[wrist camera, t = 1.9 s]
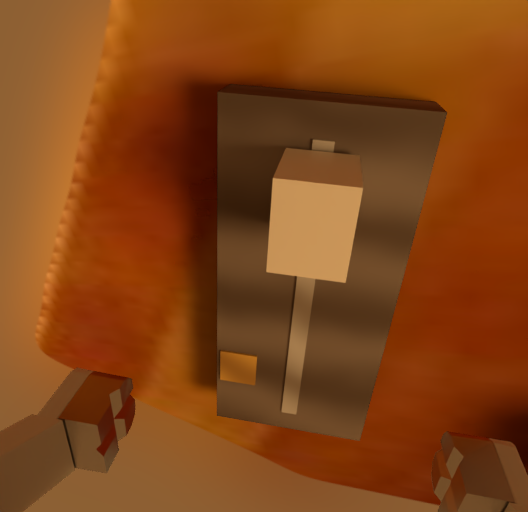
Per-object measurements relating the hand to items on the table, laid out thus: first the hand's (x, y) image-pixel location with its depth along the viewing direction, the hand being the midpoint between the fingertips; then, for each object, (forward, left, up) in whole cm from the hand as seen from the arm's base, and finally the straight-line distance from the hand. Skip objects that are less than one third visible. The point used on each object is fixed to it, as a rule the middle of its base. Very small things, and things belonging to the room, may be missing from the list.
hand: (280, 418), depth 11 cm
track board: (+8, 0, -19) cm, 21 cm away
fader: (0, 0, -16) cm, 16 cm away
